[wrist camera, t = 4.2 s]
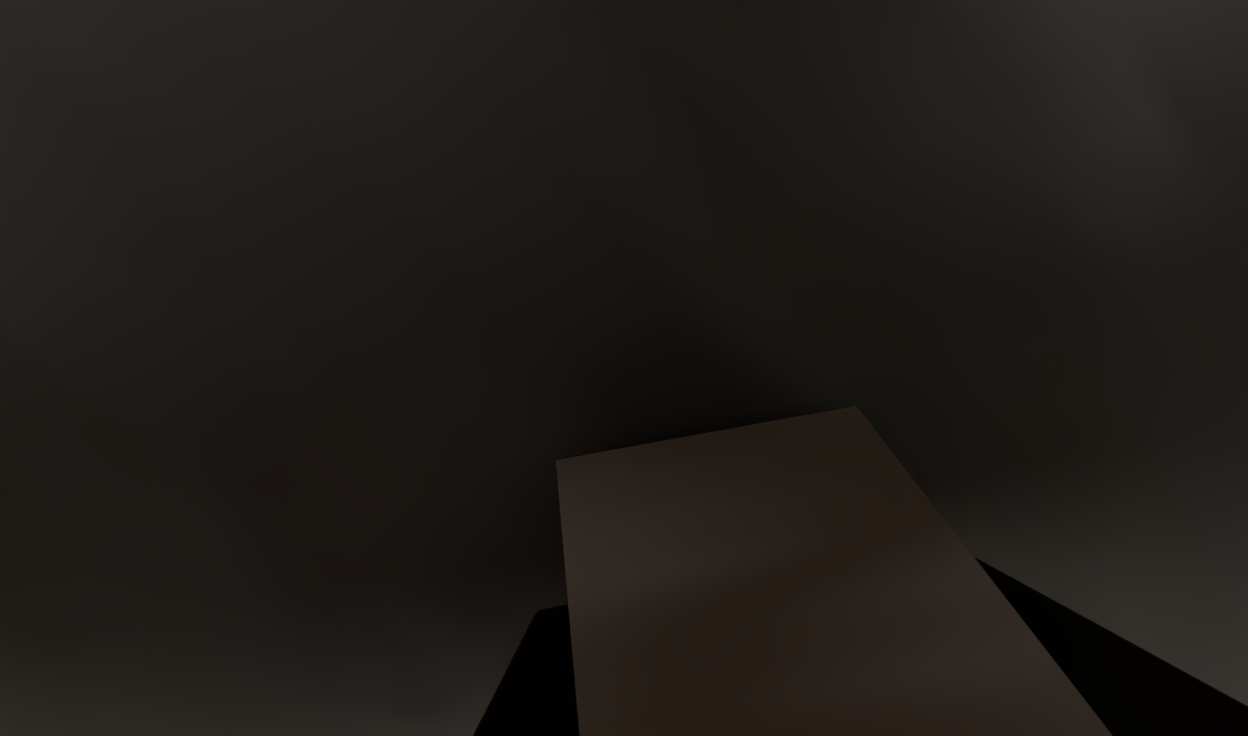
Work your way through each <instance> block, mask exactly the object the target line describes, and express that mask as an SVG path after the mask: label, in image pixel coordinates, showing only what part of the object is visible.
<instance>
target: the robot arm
mask: <svg viewBox="0 0 1248 736" xmlns="http://www.w3.org/2000/svg"><path fill="white" fill-rule="evenodd" d="M973 557H974V556H973ZM974 558H975V559H976V560H977V562H978V563H979V564H980V566H981V567H982V568H983V569H984V571H985V572H986V573H987V575H988V576H989V577H990V578H991V580H992V581H993V582H994V584H995V585H996V586H997V587H998V589H999V590H1000V591H1001V593H1002V594H1003V595H1004V596H1005V598H1006V599H1007V600H1008V602H1009V603H1010V604H1011V605H1012V607H1013V608H1014V609H1015V611H1016V612H1017V613H1018V614H1019V616H1020V617H1021V618H1022V620H1023V621H1024V622H1025V623H1026V625H1027V626H1028V627H1029V629H1030V630H1031V631H1032V632H1033V634H1034V635H1035V636H1036V638H1037V639H1038V640H1039V641H1040V643H1041V644H1042V645H1043V647H1044V648H1045V649H1046V650H1047V652H1048V653H1049V654H1050V656H1051V657H1052V658H1053V659H1054V661H1055V662H1056V663H1057V665H1058V666H1059V667H1060V668H1061V670H1062V671H1063V672H1064V674H1065V675H1066V676H1067V677H1068V679H1069V680H1070V681H1071V683H1072V684H1073V685H1074V686H1075V688H1076V689H1077V690H1078V692H1079V693H1080V694H1081V695H1082V697H1083V698H1084V699H1085V701H1086V702H1087V703H1088V705H1089V706H1090V707H1091V708H1092V710H1093V711H1094V712H1095V714H1096V715H1097V716H1098V717H1099V719H1100V720H1101V721H1102V723H1103V724H1104V725H1105V726H1106V728H1107V729H1108V730H1109V732H1110V733H1111V734H1112V735H1113V736H1248V706H1246V705H1244V704H1242V703H1241V702H1239V701H1237V700H1235V699H1233V698H1231V697H1230V696H1228V695H1226V694H1224V693H1222V692H1221V691H1219V690H1217V689H1215V688H1213V687H1211V686H1210V685H1208V684H1206V683H1204V682H1202V681H1200V680H1199V679H1197V678H1195V677H1193V676H1191V675H1189V674H1188V673H1186V672H1184V671H1182V670H1180V669H1178V668H1177V667H1175V666H1173V665H1171V664H1169V663H1168V662H1166V661H1164V660H1162V659H1160V658H1158V657H1157V656H1155V655H1153V654H1151V653H1149V652H1147V651H1146V650H1144V649H1142V648H1140V647H1138V646H1136V645H1135V644H1133V643H1131V642H1129V641H1127V640H1125V639H1124V638H1122V637H1120V636H1118V635H1116V634H1114V633H1113V632H1111V631H1109V630H1107V629H1105V628H1104V627H1102V626H1100V625H1098V624H1096V623H1094V622H1093V621H1091V620H1089V619H1087V618H1085V617H1083V616H1082V615H1080V614H1078V613H1076V612H1074V611H1072V610H1071V609H1069V608H1067V607H1065V606H1063V605H1061V604H1060V603H1058V602H1056V601H1054V600H1052V599H1051V598H1049V597H1047V596H1045V595H1043V594H1041V593H1040V592H1038V591H1036V590H1034V589H1032V588H1030V587H1029V586H1027V585H1025V584H1023V583H1021V582H1019V581H1018V580H1016V579H1014V578H1012V577H1010V576H1008V575H1007V574H1005V573H1003V572H1001V571H999V570H998V569H996V568H994V567H992V566H990V565H988V564H987V563H985V562H983V561H981V560H979V559H977V558H976V557H974ZM473 736H580V735H579V724H578V712H577V700H576V689H575V677H574V666H573V654H572V643H571V631H570V620H569V608H568V604H567V605H561V606H556V607H551V608H545V609H541V610H539V611H538V612H536V613H535V615H534V616H533V618H532V620H531V622H530V624H529V626H528V628H527V630H526V632H525V634H524V636H523V638H522V640H521V642H520V644H519V646H518V648H517V650H516V652H515V654H514V656H513V658H512V660H511V662H510V664H509V666H508V668H507V670H506V672H505V674H504V676H503V678H502V680H501V682H500V684H499V685H498V687H497V689H496V691H495V693H494V695H493V697H492V699H491V701H490V703H489V705H488V707H487V709H486V711H485V713H484V715H483V717H482V719H481V721H480V723H479V725H478V727H477V729H476V731H475V733H474V735H473Z"/></svg>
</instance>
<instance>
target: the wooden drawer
mask: <svg viewBox="0 0 1248 736" xmlns="http://www.w3.org/2000/svg"><path fill="white" fill-rule="evenodd" d="M556 469H557V481H558V493H559V504H560V516H561V527H562V539H563V550H564V562H565V573H566V585H567V597H568V608H569V620H570V631H571V643H572V654H573V666H574V677H575V689H576V700H577V712H578V724H579V735H580V736H1113V735H1112V734H1111V733H1110V732H1109V730H1108V729H1107V728H1106V726H1105V725H1104V724H1103V723H1102V721H1101V720H1100V719H1099V717H1098V716H1097V715H1096V714H1095V712H1094V711H1093V710H1092V708H1091V707H1090V706H1089V705H1088V703H1087V702H1086V701H1085V699H1084V698H1083V697H1082V695H1081V694H1080V693H1079V692H1078V690H1077V689H1076V688H1075V686H1074V685H1073V684H1072V683H1071V681H1070V680H1069V679H1068V677H1067V676H1066V675H1065V674H1064V672H1063V671H1062V670H1061V668H1060V667H1059V666H1058V665H1057V663H1056V662H1055V661H1054V659H1053V658H1052V657H1051V656H1050V654H1049V653H1048V652H1047V650H1046V649H1045V648H1044V647H1043V645H1042V644H1041V643H1040V641H1039V640H1038V639H1037V638H1036V636H1035V635H1034V634H1033V632H1032V631H1031V630H1030V629H1029V627H1028V626H1027V625H1026V623H1025V622H1024V621H1023V620H1022V618H1021V617H1020V616H1019V614H1018V613H1017V612H1016V611H1015V609H1014V608H1013V607H1012V605H1011V604H1010V603H1009V602H1008V600H1007V599H1006V598H1005V596H1004V595H1003V594H1002V593H1001V591H1000V590H999V589H998V587H997V586H996V585H995V584H994V582H993V581H992V580H991V578H990V577H989V576H988V575H987V573H986V572H985V571H984V569H983V568H982V567H981V566H980V564H979V563H978V562H977V560H976V559H975V558H974V557H973V555H972V554H971V553H970V551H969V550H968V549H967V547H966V546H965V545H964V544H963V542H962V541H961V540H960V538H959V537H958V536H957V535H956V533H955V532H954V531H953V529H952V528H951V527H950V526H949V524H948V523H947V522H946V520H945V519H944V518H943V517H942V515H941V514H940V513H939V511H938V510H937V509H936V508H935V506H934V505H933V504H932V502H931V501H930V500H929V499H928V497H927V496H926V495H925V493H924V492H923V491H922V490H921V488H920V487H919V486H918V484H917V483H916V482H915V481H914V479H913V478H912V477H911V475H910V474H909V473H908V472H907V470H906V469H905V468H904V466H903V465H902V464H901V463H900V461H899V460H898V459H897V457H896V456H895V455H894V454H893V452H892V451H891V450H890V448H889V447H888V446H887V445H886V443H885V442H884V441H883V439H882V438H881V437H880V436H879V434H878V433H877V432H876V430H875V429H874V428H873V427H872V425H871V424H870V423H869V421H868V420H867V419H866V418H865V416H864V415H863V414H862V412H861V411H860V410H859V409H858V407H857V406H852V407H847V408H841V409H836V410H830V411H825V412H819V413H814V414H808V415H802V416H797V417H791V418H786V419H780V420H775V421H769V422H764V423H758V424H753V425H747V426H742V427H736V428H731V429H725V430H720V431H714V432H708V433H703V434H697V435H692V436H686V437H681V438H675V439H670V440H664V441H659V442H653V443H648V444H642V445H637V446H631V447H625V448H620V449H614V450H609V451H603V452H598V453H592V454H587V455H581V456H576V457H570V458H565V459H559V460H556Z"/></svg>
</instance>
